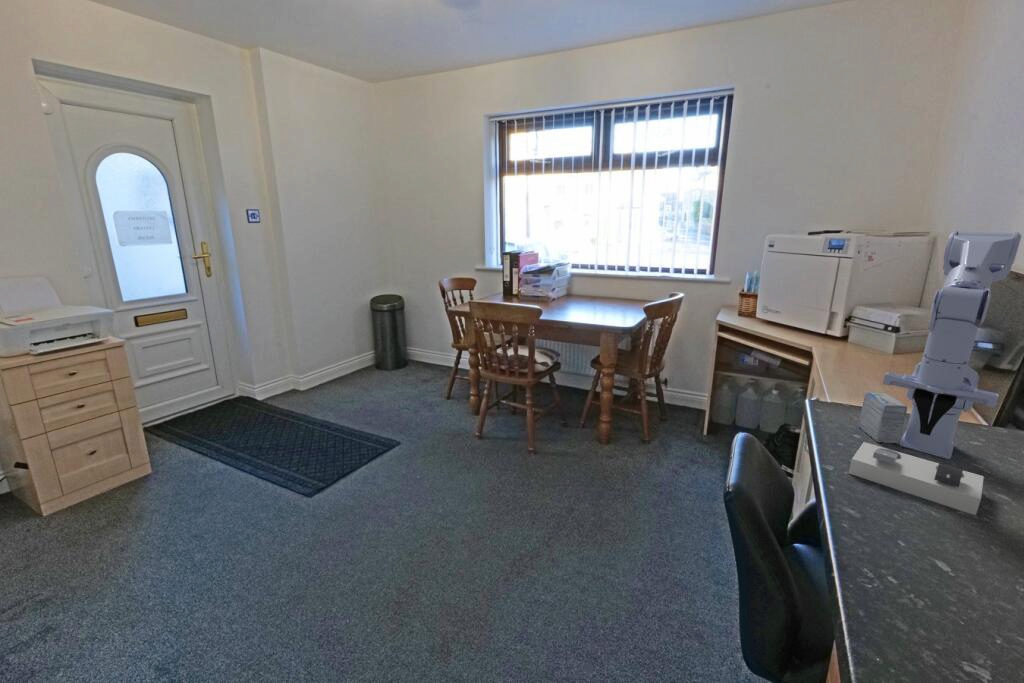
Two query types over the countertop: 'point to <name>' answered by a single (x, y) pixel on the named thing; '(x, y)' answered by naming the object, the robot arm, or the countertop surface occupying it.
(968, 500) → the switch panel
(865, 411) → the medicine box
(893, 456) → the block
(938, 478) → the block
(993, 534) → the countertop surface
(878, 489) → the countertop surface
